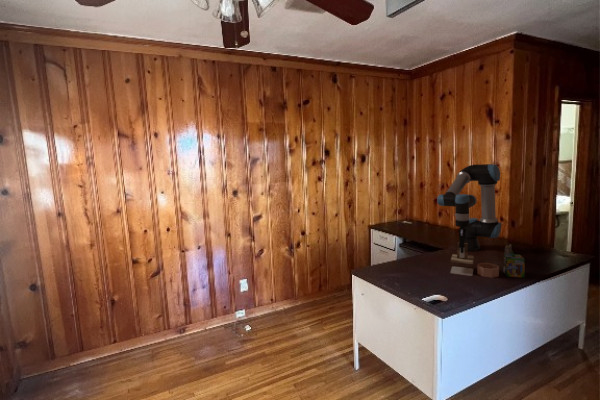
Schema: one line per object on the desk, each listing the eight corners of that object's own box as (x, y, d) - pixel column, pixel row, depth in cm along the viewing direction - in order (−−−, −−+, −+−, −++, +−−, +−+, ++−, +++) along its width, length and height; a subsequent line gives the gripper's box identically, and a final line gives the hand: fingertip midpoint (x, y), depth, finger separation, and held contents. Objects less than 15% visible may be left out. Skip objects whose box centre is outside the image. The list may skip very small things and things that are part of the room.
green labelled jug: (524, 278, 182) (525, 253, 180) (506, 277, 186) (506, 252, 184) (520, 272, 191) (521, 248, 189) (502, 271, 194) (503, 248, 192)
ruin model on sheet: (509, 259, 216) (510, 245, 214) (504, 258, 218) (504, 244, 216) (512, 255, 224) (512, 241, 223) (507, 254, 226) (507, 241, 225)
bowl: (477, 270, 198) (477, 262, 197) (498, 272, 193) (498, 264, 192) (477, 276, 189) (477, 267, 188) (499, 279, 183) (499, 270, 182)
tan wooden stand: (452, 255, 205) (452, 240, 204) (473, 257, 199) (473, 241, 198) (450, 261, 195) (450, 245, 194) (472, 264, 189) (472, 246, 188)
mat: (452, 267, 206) (452, 266, 206) (473, 269, 200) (473, 268, 200) (450, 273, 195) (450, 273, 195) (472, 276, 189) (472, 275, 189)
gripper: (456, 216, 202) (456, 252, 206) (454, 222, 189) (454, 260, 192) (469, 217, 198) (469, 253, 202) (468, 222, 185) (468, 261, 188)
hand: (462, 256), depth 197 cm, fingers closed on tan wooden stand, 3 cm apart
